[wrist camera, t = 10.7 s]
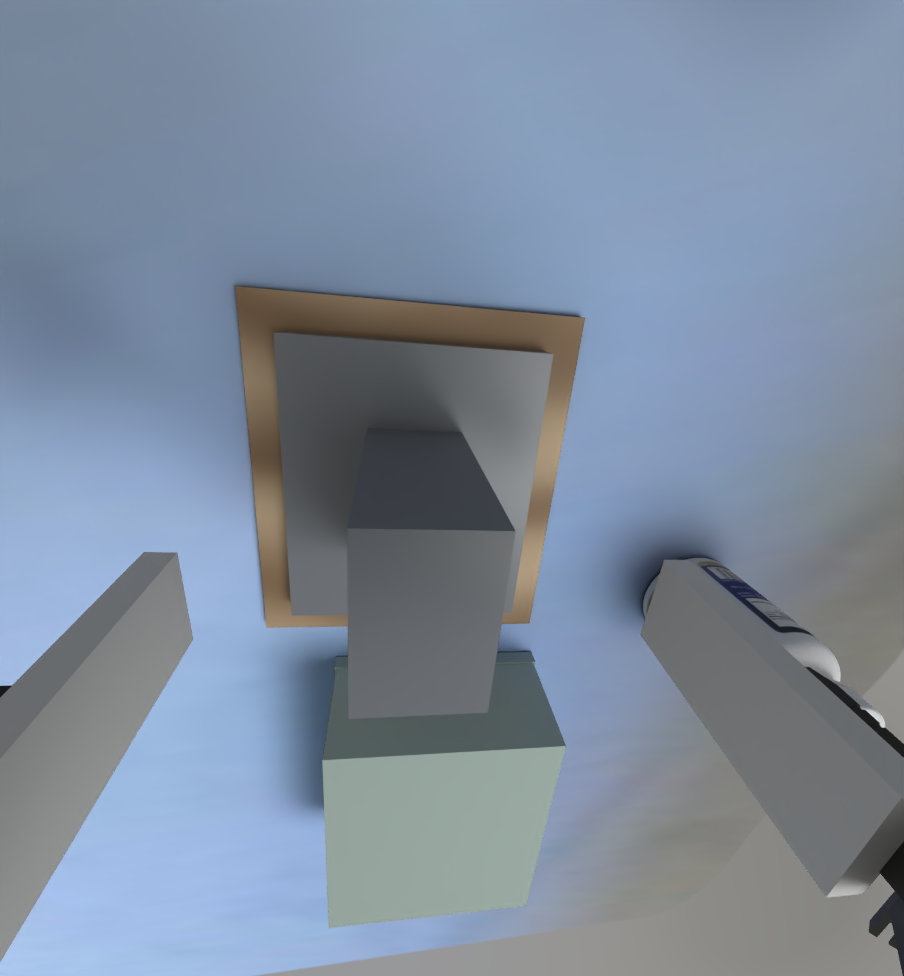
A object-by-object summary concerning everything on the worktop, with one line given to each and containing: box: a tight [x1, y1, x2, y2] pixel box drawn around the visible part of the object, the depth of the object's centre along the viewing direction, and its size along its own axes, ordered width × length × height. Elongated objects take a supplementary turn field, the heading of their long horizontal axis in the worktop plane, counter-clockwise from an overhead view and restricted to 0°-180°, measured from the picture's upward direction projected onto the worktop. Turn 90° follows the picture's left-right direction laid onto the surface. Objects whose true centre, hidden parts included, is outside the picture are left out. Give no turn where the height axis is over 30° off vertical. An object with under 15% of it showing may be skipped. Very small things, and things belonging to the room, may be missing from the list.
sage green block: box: [322, 652, 566, 928], centre depth 25 cm, size 13×11×6 cm
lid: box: [273, 331, 554, 719], centre depth 16 cm, size 13×11×10 cm
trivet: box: [235, 286, 585, 627], centre depth 21 cm, size 16×14×1 cm
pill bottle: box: [643, 558, 885, 728], centre depth 21 cm, size 5×5×10 cm
